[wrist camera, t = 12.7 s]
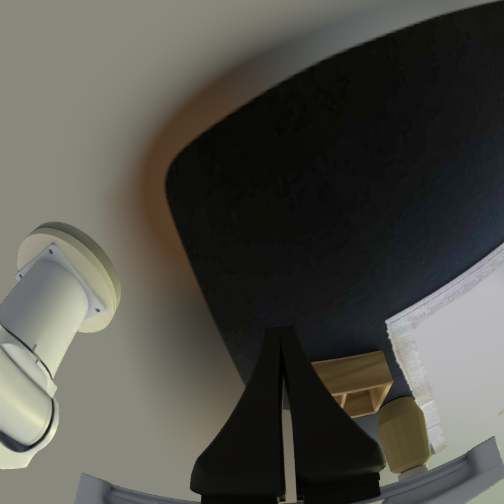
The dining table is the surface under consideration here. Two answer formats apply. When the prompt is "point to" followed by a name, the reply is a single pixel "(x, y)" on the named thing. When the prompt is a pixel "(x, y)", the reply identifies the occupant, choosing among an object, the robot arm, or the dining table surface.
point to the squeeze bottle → (404, 437)
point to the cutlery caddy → (356, 381)
